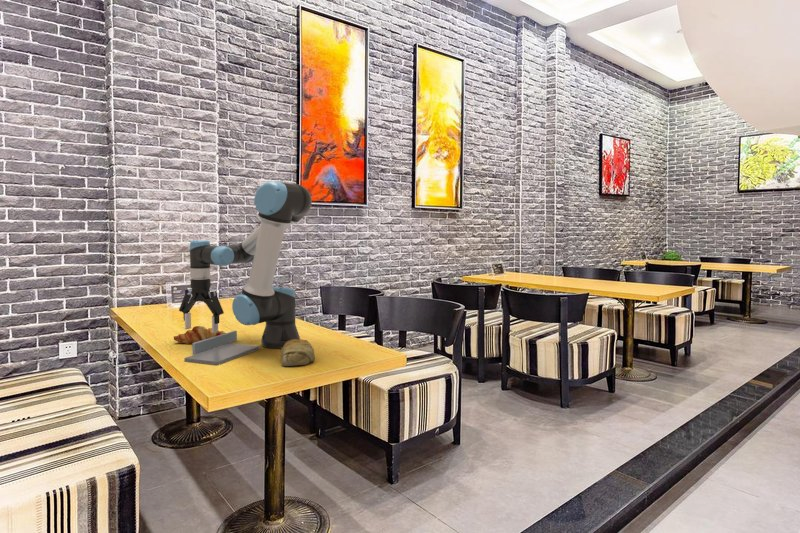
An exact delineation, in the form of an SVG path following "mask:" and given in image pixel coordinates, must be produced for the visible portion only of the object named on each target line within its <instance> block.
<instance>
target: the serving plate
mask: <svg viewBox="0 0 800 533" xmlns="http://www.w3.org/2000/svg"><path fill="white" fill-rule="evenodd" d="M258 349H259V350H260V349H261V347H260V345H254V344H244V343H234V342H231V343H228V344H225V345H222V346H219V347H216V348H213V349H210V350H207V351H204V352H201V353H198V354H192V355H190V356H187V357H183V358H184V362H185V361H187V362H188V363H194V362H195V364H201V365H202V364H205V365H211V366H219V364H220V365H223V364H225V363H228V362H230V361H232V360H235V359H237V358H240V357H243V356H246V355H248V354H250V353H253V352H255V351H258Z"/></svg>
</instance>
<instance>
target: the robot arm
mask: <svg viewBox="0 0 800 533" xmlns="http://www.w3.org/2000/svg"><path fill="white" fill-rule="evenodd" d="M312 199H313V198H312V195H311V193H310V191H309V190H308V188H306V187H305V186H303V185H302V184H298V183H288V182H283V181H282V182H281V181H276V180H275V181H266V182H264V183H263V184H262V185H261V184H260V186H259V187H258V188H257V190H256V191H255V195H254V200H253V201H254V205H255V209H256V211H258V215H257V216H258V218H259V220H260V225H259V226H258V227H257V228H256V229H255V230H253V231H252V232H251V233H250V234H249V235H248V236H247V237H246V238H244V239H243V241H241V242H240V243H238V244H237V245H236V244H235V245H233V244H232V245H211V241H209V240H207V239H205V240H203V239H201V240H200V239H199V240H196V239H195V240H191V241H190V242H189V267H190V269H189V270H190V271H189V273H190V274H189V275H190V277H189V278H191V279H190V288H188V289H184V296H183V299H182V301H181V304H180V306H179V310H178V311H179V312H181V313H183V316H182V317H183V321H184V330H187V331H188V330H191V329H192V317H191V316H192V312H191V309H193V307H194V305H195V304H196V303H197V302H200V303H201V302H202V303H204V304H205V305H206V306H207V308H208V309H209V310H210V312H211V313H212V315H211V328H212V332H217V331H219V324H220V316H221V315H224V313H225V312H224V309H223V307H222V305H221V302H220V300H219V297H218V292H217V291H216V290H210V288H211V265H213V266H220V267H221V266H222V267H223V266H229V265H236V264H238V265H239V264H249V263H251V269H250V272H249V279H248V281H247V283H246V284H243V286H242V289H241V293H240V294H238V295H236V296H235V297H234V298H233V300H232V304H231V308H232V314H233V315H234V317H235V319H236V320H237V321H238V322H239V324H241V325H244V326H255V325H258V324H262V323H265V327H264V330H263V333H262V336H261V339H260V340H261V342H260V343H261V344H260V345H261V346H262V347H264V348H270V349H282V348H283V346H284V344H285V343H286V342H287V341H289V340H292V339H301V337H300V333H299V330H298V328H297V325H296V299H297V298H296V291H295V289H294V288H292V287H284V286H283V287H282V286H273V283H274V278H275V274H276V269H277V266H278V265H277V264H278V260H279V257H280V251H281V248H282V244H283V238H284V235H285V230H286V229H287V228H289V226H291V225H292V224H293V223H298V222H300V221H301V220H302V219H303V218H305V216H306V215H307V214H308V213H309V212H310V210H311V209H312V208H311V207H312V204H313V200H312Z"/></svg>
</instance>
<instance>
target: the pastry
mask: <svg viewBox="0 0 800 533" xmlns="http://www.w3.org/2000/svg"><path fill="white" fill-rule="evenodd" d="M315 355H316V354H315V349H314V347H313V346H312V343H310V342H309V341H308V340H306V339H301V338H300V339H292V340H289V341H287V342H286V343H285V344H284V346H283V348H281V351H280V357H281V362H280V363H281V367H283V366H284V367H296V366H305V365H310V364H312V362H314V360H315V358H316V357H315Z"/></svg>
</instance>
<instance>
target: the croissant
mask: <svg viewBox="0 0 800 533" xmlns="http://www.w3.org/2000/svg"><path fill="white" fill-rule="evenodd" d="M225 333H226V332H225V331H223V330H218V331H217V332H212V327H211V328H206V327H205V326H201V325H197V326H194V327H193V328H191V329H187V331H186V332H184V333H179V334H178V335H175V336H173V340H174V341H175V342H177V343H182V344H186V345H192V343H195V342H199V341H202V340H205V339H208V338H212V337H215V336H218V335H222V334H225Z"/></svg>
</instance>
